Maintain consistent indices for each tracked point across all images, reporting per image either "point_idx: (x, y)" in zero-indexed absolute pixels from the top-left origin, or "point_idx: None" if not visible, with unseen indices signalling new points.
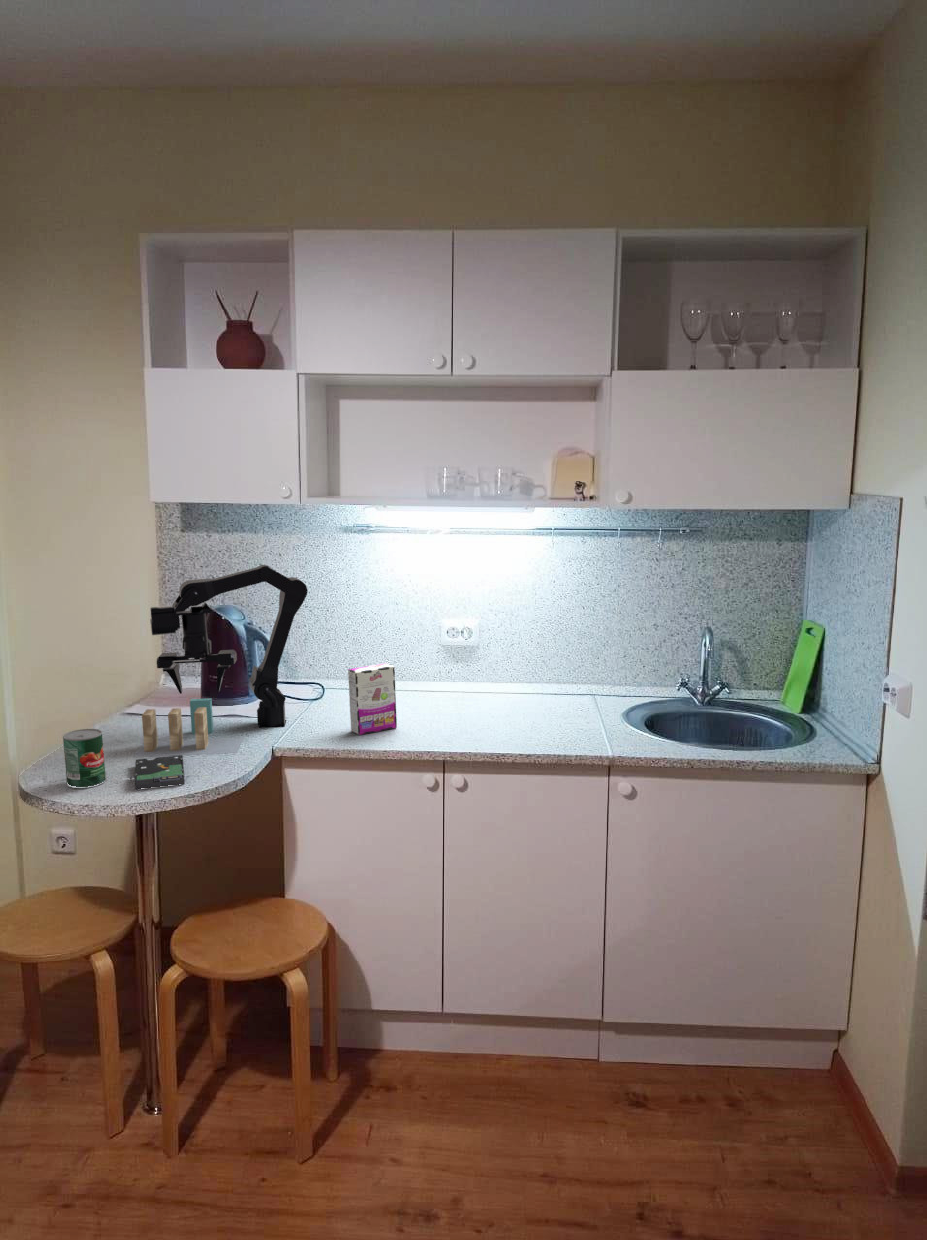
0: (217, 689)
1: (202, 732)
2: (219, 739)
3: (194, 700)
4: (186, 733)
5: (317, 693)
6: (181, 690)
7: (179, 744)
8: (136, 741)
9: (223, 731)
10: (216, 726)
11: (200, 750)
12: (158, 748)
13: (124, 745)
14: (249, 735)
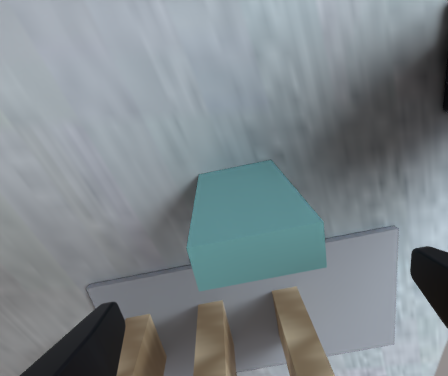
0: (430, 299)
1: None
2: None
3: (223, 276)
4: (172, 176)
5: None
6: (115, 339)
7: (233, 351)
8: (49, 269)
9: (304, 142)
10: (256, 73)
11: None
12: (167, 336)
13: (39, 303)
14: (408, 182)
